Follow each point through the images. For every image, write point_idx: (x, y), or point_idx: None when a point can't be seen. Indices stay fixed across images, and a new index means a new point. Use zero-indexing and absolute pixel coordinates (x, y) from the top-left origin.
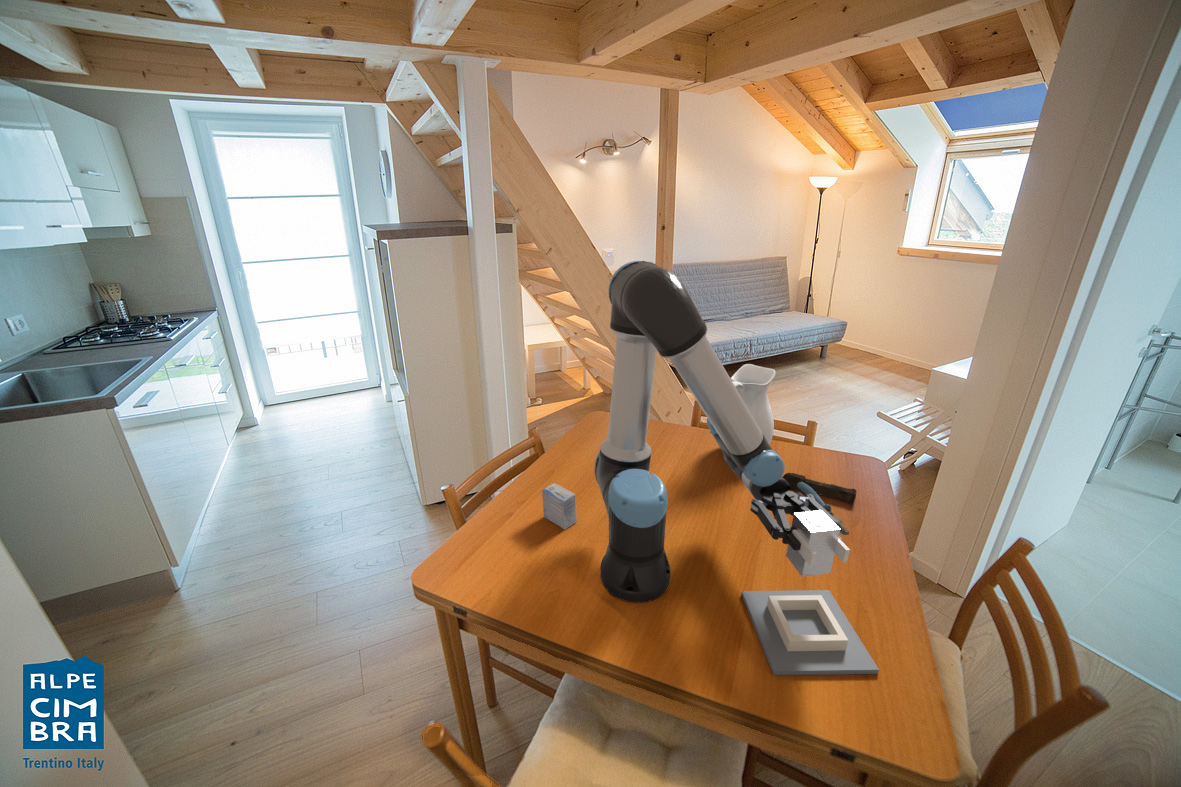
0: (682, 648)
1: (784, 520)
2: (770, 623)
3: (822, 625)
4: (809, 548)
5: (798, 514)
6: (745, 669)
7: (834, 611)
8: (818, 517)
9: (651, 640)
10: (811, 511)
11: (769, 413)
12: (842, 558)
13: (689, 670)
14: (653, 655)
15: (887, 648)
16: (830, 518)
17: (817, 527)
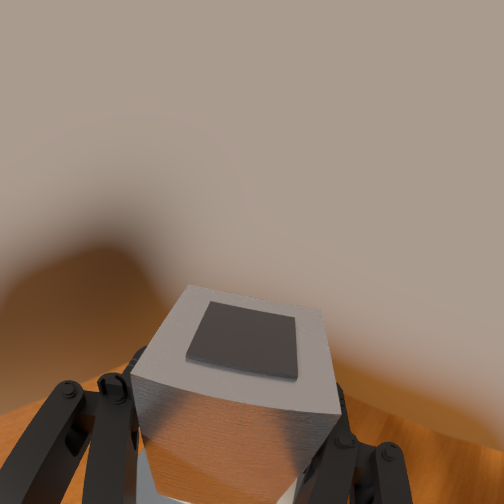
0: (435, 468)
1: (330, 498)
2: (297, 492)
3: None
4: None
5: (318, 399)
6: (363, 441)
7: (148, 471)
8: (218, 343)
9: (467, 475)
10: (207, 394)
11: None
12: None
13: (427, 443)
14: (463, 457)
15: None
16: (61, 411)
17: (277, 314)
